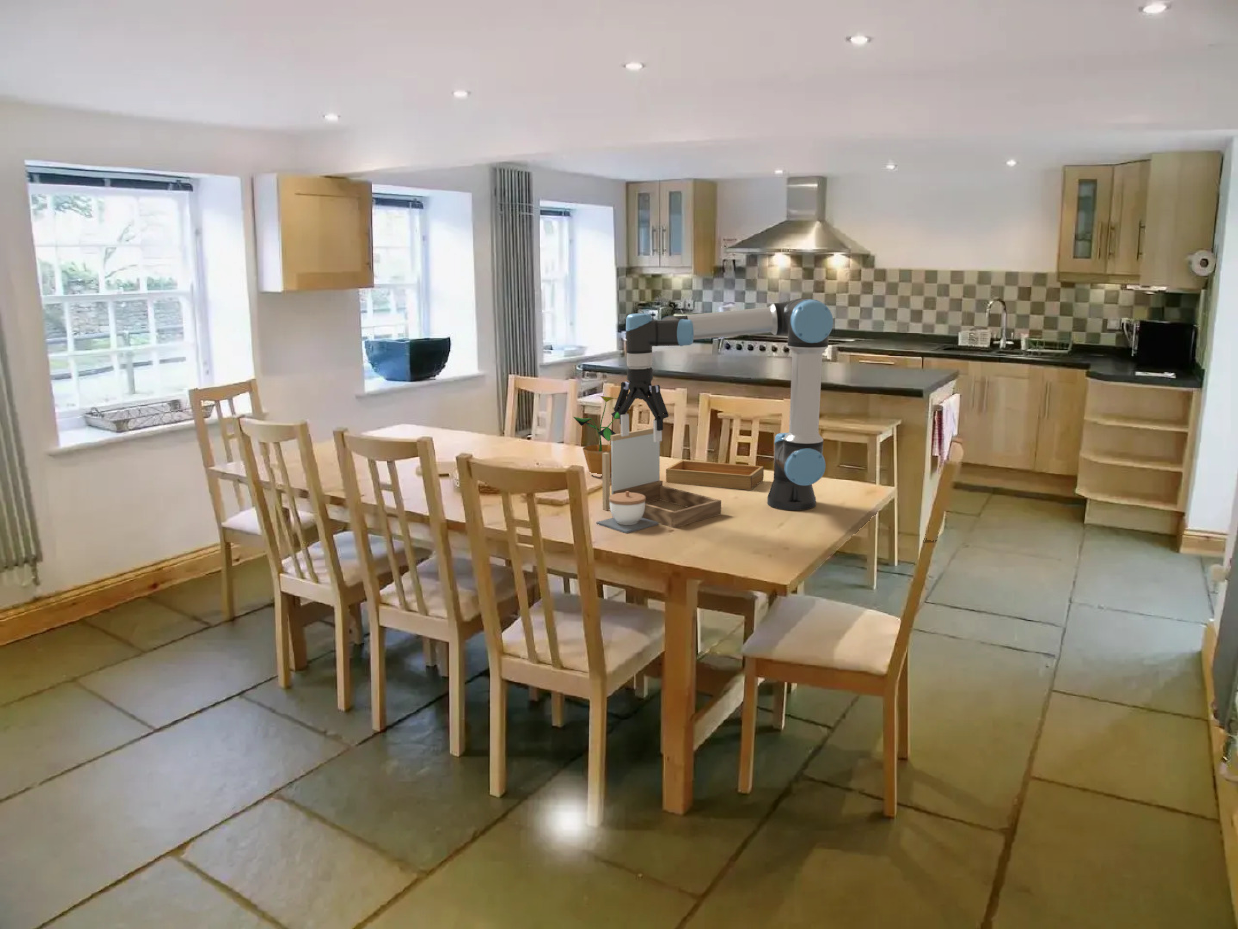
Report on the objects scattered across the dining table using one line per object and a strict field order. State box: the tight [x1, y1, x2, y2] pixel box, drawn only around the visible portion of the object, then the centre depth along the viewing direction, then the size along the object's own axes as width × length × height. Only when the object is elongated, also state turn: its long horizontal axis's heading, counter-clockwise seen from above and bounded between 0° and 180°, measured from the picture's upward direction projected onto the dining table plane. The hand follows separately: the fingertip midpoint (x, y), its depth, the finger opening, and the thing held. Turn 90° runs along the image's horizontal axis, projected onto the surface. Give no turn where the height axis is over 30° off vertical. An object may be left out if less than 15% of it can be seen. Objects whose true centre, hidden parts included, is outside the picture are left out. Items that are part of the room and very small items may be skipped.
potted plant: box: [573, 394, 620, 474], centre depth 331 cm, size 18×19×30 cm
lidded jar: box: [609, 491, 646, 525], centre depth 273 cm, size 11×11×9 cm
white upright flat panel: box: [601, 427, 661, 511], centre depth 293 cm, size 3×22×24 cm, turn 133°
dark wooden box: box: [613, 480, 722, 529], centre depth 285 cm, size 26×20×6 cm
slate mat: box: [596, 517, 659, 534], centre depth 274 cm, size 13×13×1 cm
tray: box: [665, 459, 765, 491], centre depth 323 cm, size 31×15×6 cm, turn 65°
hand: (641, 438), depth 275 cm, fingers open, 13 cm apart
